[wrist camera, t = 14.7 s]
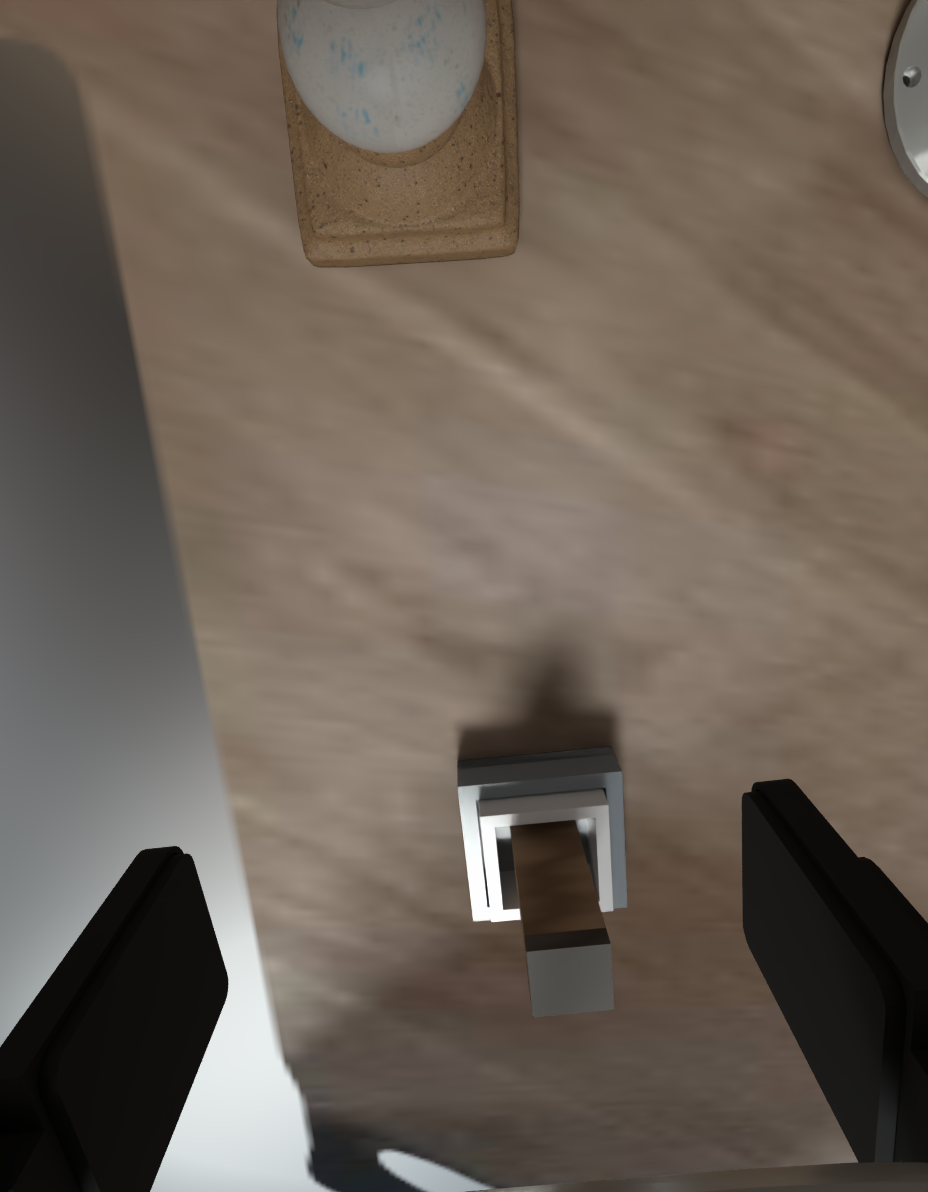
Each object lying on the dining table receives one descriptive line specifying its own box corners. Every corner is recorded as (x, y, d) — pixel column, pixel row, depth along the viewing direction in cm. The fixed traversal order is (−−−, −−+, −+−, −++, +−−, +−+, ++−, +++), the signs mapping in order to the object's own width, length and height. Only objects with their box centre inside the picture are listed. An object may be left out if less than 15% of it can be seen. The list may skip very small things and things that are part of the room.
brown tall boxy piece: (568, 798, 43) (610, 943, 31) (572, 850, 44) (614, 1009, 32) (507, 804, 43) (526, 951, 31) (512, 856, 44) (533, 1017, 32)
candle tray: (610, 746, 43) (628, 785, 39) (616, 875, 46) (633, 924, 41) (457, 761, 43) (457, 801, 39) (472, 888, 46) (474, 939, 42)
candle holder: (509, 5, 32) (650, -1031, 9) (517, 256, 35) (637, -24, 12) (282, 19, 32) (-169, -974, 9) (310, 269, 35) (30, 15, 12)
